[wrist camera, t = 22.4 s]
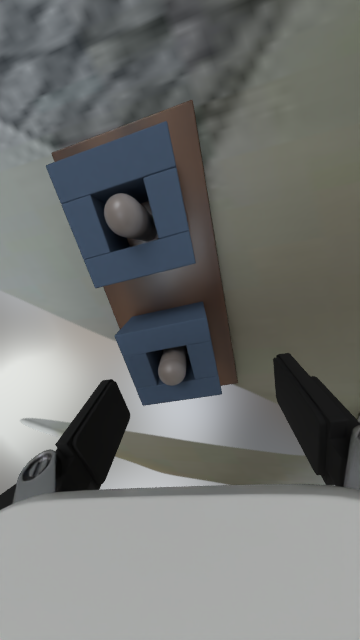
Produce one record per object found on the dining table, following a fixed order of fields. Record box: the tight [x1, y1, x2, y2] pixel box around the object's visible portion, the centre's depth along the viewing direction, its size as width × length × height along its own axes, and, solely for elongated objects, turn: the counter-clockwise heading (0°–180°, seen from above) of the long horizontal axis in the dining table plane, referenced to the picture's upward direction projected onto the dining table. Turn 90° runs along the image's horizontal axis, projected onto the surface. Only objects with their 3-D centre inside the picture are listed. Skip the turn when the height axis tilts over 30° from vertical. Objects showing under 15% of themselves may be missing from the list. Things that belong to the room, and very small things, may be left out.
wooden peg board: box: [52, 100, 238, 386], centre depth 13 cm, size 10×22×7 cm, turn 14°
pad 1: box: [46, 121, 196, 288], centre depth 12 cm, size 7×7×4 cm
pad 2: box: [115, 302, 222, 405], centre depth 15 cm, size 7×7×4 cm
